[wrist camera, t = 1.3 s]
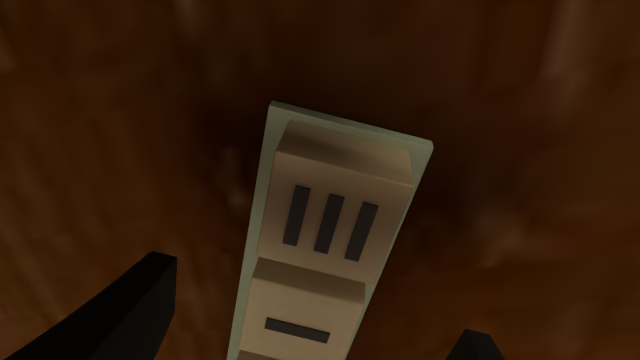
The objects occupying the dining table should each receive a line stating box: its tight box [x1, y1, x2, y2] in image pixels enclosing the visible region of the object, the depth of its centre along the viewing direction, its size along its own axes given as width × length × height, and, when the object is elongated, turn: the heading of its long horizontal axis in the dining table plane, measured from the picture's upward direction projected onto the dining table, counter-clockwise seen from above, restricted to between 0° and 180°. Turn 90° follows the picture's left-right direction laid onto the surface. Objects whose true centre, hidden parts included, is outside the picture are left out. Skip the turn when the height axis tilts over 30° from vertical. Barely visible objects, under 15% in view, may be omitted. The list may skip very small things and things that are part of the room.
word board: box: [227, 100, 433, 360], centre depth 18 cm, size 16×6×3 cm, turn 167°
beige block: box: [256, 120, 414, 285], centre depth 15 cm, size 4×4×3 cm
